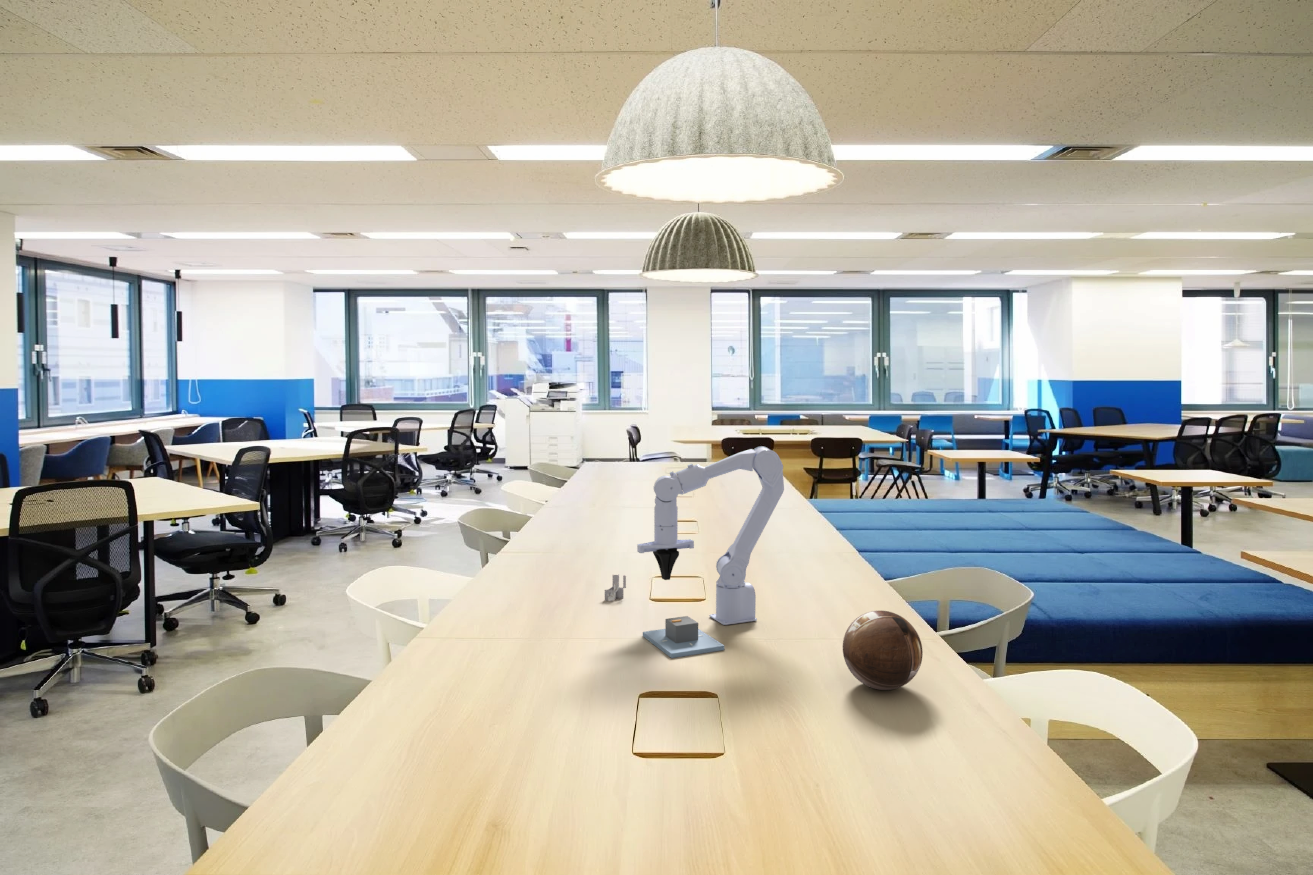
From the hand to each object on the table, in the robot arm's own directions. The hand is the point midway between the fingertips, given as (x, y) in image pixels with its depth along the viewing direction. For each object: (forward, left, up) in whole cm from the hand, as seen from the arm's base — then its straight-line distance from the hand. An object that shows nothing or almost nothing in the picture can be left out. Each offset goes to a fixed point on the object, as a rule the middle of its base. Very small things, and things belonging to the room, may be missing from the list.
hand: (665, 579), depth 199 cm
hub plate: (+4, +17, -10) cm, 20 cm away
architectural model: (+3, -18, -11) cm, 21 cm away
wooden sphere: (-21, +56, -11) cm, 61 cm away
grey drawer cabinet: (+4, +17, -9) cm, 19 cm away
